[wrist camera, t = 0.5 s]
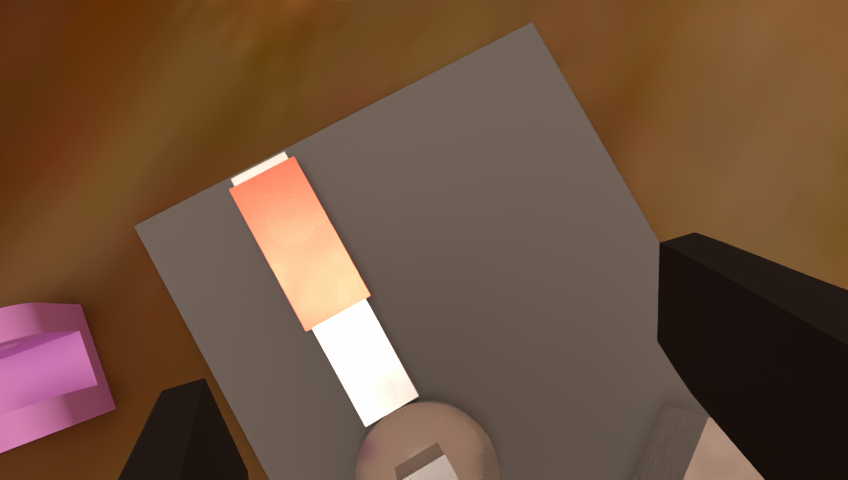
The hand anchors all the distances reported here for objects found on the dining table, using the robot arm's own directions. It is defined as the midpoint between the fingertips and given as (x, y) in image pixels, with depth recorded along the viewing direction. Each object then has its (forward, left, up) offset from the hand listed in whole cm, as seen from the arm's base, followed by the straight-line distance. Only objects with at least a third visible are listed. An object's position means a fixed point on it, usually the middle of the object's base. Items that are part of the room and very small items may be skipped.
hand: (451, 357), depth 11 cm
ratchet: (0, +2, -26) cm, 26 cm away
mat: (-4, -3, -26) cm, 26 cm away
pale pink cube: (-14, -10, -26) cm, 31 cm away
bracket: (+7, +20, -26) cm, 34 cm away
